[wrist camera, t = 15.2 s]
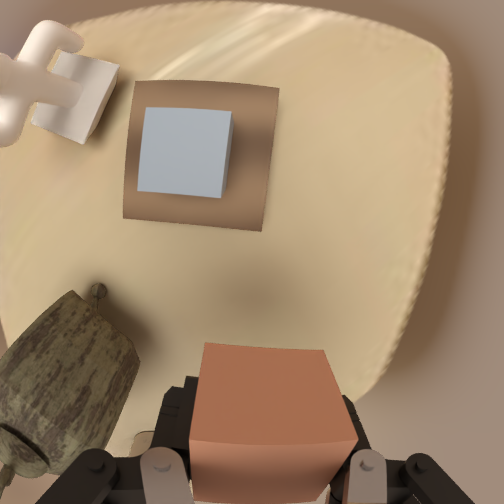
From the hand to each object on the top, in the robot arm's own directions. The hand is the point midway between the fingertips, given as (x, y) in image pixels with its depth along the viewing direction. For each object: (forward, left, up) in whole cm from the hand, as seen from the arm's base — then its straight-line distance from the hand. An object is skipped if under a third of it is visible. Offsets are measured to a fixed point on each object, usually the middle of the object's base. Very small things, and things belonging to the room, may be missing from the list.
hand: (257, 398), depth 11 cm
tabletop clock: (-11, +16, -17) cm, 26 cm away
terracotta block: (0, 0, -1) cm, 1 cm away
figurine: (+14, +17, -17) cm, 28 cm away
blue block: (+9, +5, -13) cm, 17 cm away
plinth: (+9, +5, -17) cm, 20 cm away
